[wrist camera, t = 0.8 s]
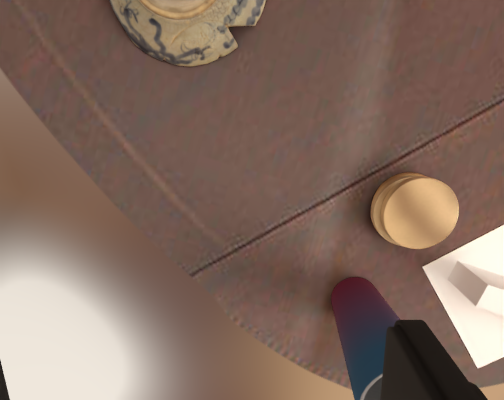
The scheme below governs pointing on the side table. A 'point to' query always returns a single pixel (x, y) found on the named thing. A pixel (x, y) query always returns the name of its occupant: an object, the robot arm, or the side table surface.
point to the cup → (362, 333)
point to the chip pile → (414, 210)
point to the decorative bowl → (185, 27)
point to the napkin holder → (474, 294)
